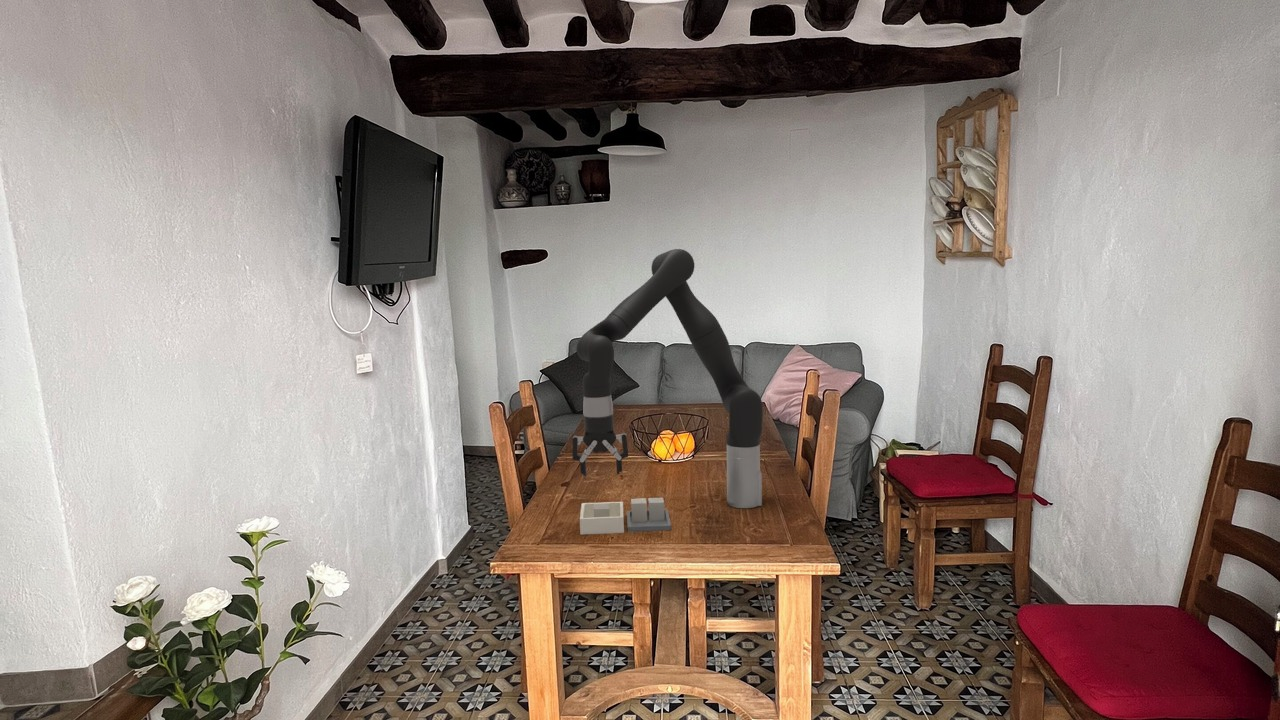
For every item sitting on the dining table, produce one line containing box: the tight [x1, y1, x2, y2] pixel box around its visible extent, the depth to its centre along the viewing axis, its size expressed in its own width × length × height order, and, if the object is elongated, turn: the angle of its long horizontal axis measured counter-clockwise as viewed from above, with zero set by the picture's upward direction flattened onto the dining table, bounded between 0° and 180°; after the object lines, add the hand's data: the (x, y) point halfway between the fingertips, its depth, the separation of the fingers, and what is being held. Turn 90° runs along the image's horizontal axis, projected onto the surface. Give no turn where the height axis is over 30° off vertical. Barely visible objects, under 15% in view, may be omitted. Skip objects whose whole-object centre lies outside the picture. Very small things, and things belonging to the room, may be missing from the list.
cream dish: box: [579, 501, 625, 535], centre depth 187 cm, size 11×12×5 cm
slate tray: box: [626, 508, 672, 533], centre depth 188 cm, size 11×12×2 cm
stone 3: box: [647, 497, 665, 521], centre depth 190 cm, size 4×4×5 cm
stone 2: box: [630, 497, 648, 522], centre depth 190 cm, size 4×4×5 cm
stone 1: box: [594, 504, 610, 517], centre depth 187 cm, size 4×4×5 cm
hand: (601, 474), depth 185 cm, fingers open, 8 cm apart
